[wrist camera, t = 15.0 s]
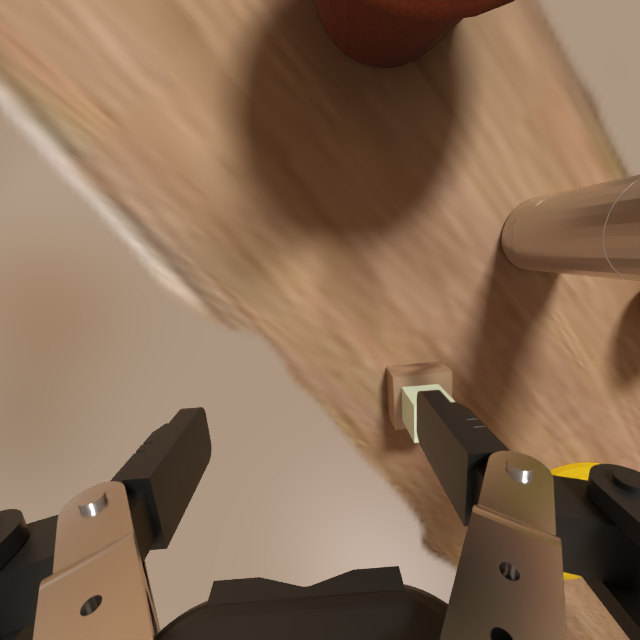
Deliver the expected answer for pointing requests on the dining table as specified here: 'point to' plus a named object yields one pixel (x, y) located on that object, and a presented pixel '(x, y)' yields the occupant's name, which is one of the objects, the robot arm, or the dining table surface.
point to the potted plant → (394, 26)
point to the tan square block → (413, 384)
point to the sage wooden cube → (415, 406)
